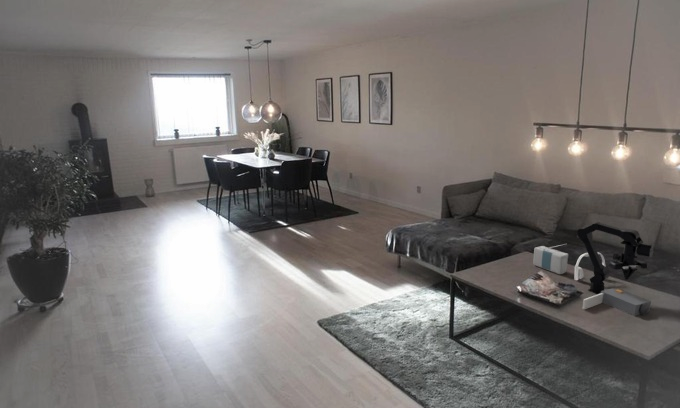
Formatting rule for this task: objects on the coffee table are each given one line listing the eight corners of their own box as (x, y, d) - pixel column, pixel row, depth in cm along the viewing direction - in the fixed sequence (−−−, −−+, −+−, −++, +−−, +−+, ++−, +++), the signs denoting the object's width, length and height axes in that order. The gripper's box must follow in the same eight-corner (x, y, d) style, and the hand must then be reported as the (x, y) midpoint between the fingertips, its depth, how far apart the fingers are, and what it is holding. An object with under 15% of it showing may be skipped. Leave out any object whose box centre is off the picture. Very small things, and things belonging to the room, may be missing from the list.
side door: (600, 301, 257) (601, 292, 256) (603, 302, 256) (604, 293, 255) (580, 308, 249) (581, 298, 248) (584, 309, 248) (585, 300, 246)
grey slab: (599, 301, 258) (601, 289, 257) (614, 297, 263) (616, 286, 261) (636, 317, 239) (638, 304, 238) (652, 312, 244) (653, 300, 242)
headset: (578, 282, 284) (581, 255, 280) (570, 278, 291) (573, 251, 287) (606, 280, 288) (609, 252, 284) (598, 275, 294) (601, 249, 290)
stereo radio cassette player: (532, 265, 314) (534, 237, 309) (540, 263, 318) (543, 235, 313) (559, 275, 296) (562, 246, 291) (567, 273, 300) (570, 243, 295)
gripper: (636, 247, 262) (632, 273, 266) (604, 248, 261) (601, 274, 265) (650, 254, 251) (646, 280, 255) (617, 255, 250) (613, 282, 254)
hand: (626, 279), depth 257 cm, fingers closed
